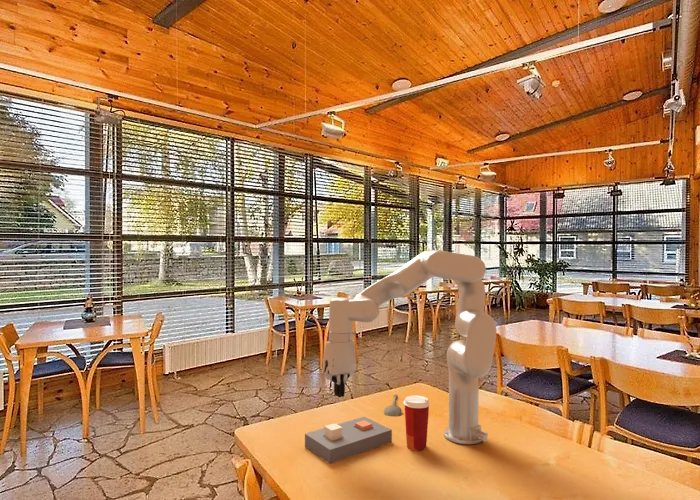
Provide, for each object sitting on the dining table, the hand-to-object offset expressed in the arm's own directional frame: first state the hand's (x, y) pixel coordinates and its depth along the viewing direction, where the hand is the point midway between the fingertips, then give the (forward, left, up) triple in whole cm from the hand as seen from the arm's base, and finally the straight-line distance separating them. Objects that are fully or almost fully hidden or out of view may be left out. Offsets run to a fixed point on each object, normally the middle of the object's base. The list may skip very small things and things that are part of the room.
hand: (339, 395), depth 138 cm
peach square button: (0, -10, -15) cm, 18 cm away
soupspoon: (+16, -39, -17) cm, 45 cm away
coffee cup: (-14, -20, -16) cm, 29 cm away
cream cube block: (0, +2, -13) cm, 13 cm away
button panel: (0, -4, -16) cm, 16 cm away
